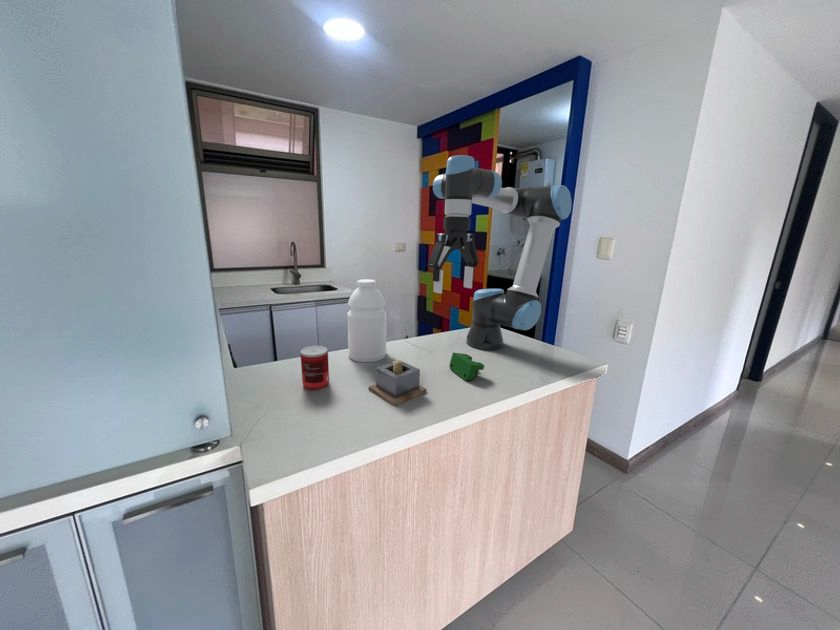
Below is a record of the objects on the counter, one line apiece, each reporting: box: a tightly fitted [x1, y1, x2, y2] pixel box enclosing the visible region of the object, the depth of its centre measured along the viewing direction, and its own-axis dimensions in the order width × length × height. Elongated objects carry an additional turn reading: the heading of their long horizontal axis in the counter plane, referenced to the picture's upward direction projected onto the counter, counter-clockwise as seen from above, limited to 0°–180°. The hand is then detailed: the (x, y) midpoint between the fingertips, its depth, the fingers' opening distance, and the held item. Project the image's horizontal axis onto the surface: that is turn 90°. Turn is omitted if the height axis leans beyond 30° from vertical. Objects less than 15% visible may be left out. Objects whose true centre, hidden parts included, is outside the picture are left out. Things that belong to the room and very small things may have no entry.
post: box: [368, 360, 427, 406], centre depth 97 cm, size 12×12×9 cm
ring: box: [375, 359, 421, 398], centre depth 97 cm, size 9×9×6 cm
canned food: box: [300, 345, 330, 391], centre depth 99 cm, size 8×8×11 cm
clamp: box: [449, 351, 485, 381], centre depth 111 cm, size 12×6×9 cm, turn 20°
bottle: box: [346, 278, 387, 363], centre depth 120 cm, size 14×14×28 cm
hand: (453, 290), depth 100 cm, fingers open, 13 cm apart
